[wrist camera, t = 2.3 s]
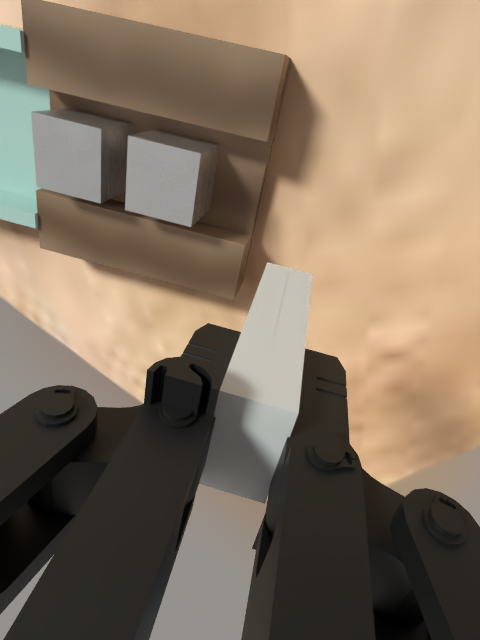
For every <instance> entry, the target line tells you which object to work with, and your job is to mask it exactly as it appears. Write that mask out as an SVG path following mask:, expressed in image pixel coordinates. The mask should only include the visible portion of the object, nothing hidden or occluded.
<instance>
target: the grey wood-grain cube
mask: <svg viewBox="0 0 480 640" xmlns="http://www.w3.org/2000/svg"><path fill="white" fill-rule="evenodd" d="M219 145H220V144H216V143H212V142H208V141H204V140H200V139H196V138H192V137H188V136H184V135H180V134H175V133H171V132H167V131H163V130H159V129H154V130H150V131H145V132H141V133H137V134H132V135H128V148H127V172H126V197H125V210H127V211H131V212H135V213H139V214H142V215H146V216H150V217H154V218H158V219H162V220H165V221H169V222H173V223H177V224H181V225H185V226H188V227H192V226H193V225H194V224H195V223H196V222H197V221H198V220H199V219H200V218H201V217H202V216H203V215H204V214H205V213H206V212H207V211H208V210H209V209H210V204H211V197H212V191H213V184H214V178H215V171H216V165H217V158H218V152H219Z"/></svg>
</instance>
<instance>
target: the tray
mask: <svg viewBox="0 0 480 640" xmlns="http://www.w3.org/2000/svg"><path fill="white" fill-rule="evenodd" d="M45 110H50V96H49V89H45V88H41V87H37V86H33V85H28V83H27V70H26V57H25V44H24V31H23V29H20V28H15V27H11V26H7V25H2V24H0V219H2V220H5V221H9V222H13V223H17V224H20V225H24V226H28V227H31V228H35V229H36V228H38V227H39V226H38V213H37V200H36V190H38V189H41V188H39V187H37V185H36V172H35V159H34V146H33V132H32V119H31V112H32V111H45Z"/></svg>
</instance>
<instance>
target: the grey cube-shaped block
mask: <svg viewBox="0 0 480 640" xmlns="http://www.w3.org/2000/svg"><path fill="white" fill-rule="evenodd" d="M31 119H32V132H33V146H34V159H35V172H36V185H37V187H39V188H43V189H47V190H50V191H54V192H58V193H62V194H66V195H70V196H73V197H77V198H81V199H85V200H89V201H93V202H96V203H100V204H101V203H103V202H105V201H107V200H109V199H111V198H113V197H115V196H117V195H119V194H121V193H123V192H125V191H126V172H127V148H128V135H132V134H133V123H130V122H126V121H122V120H118V119H114V118H110V117H106V116H102V115H97V114H93V113H89V112H85V111H81V110H77V109H73V108H71V109H58V110H45V111H32V112H31Z"/></svg>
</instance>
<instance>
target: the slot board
mask: <svg viewBox="0 0 480 640" xmlns="http://www.w3.org/2000/svg"><path fill="white" fill-rule="evenodd" d="M21 5H22V18H23V31H24V44H25V57H26V70H27V83H28V85H33V86H37V87H41V88H45V89H49V96H50V110H58V109H71V108H73V109H77V110H81V111H85V112H89V113H93V114H97V115H102V116H106V117H110V118H114V119H118V120H122V121H126V122H130V123H133V134H137V133H141V132H145V131H150V130H154V129H159V130H163V131H167V132H171V133H175V134H180V135H184V136H188V137H192V138H196V139H200V140H204V141H208V142H212V143H216V144H220V145H219V152H218V158H217V165H216V171H215V178H214V184H213V191H212V197H211V204H210V209H209V210H208V211H207V212H206V213H205V214H204V215H203V216H202V217H201V218H200V219H199V220H198V221H197V222H196V223H195V224H194V225H193V226H192V227H188V226H185V225H181V224H177V223H173V222H169V221H165V220H162V219H158V218H154V217H150V216H146V215H142V214H139V213H135V212H131V211H127V210H125V197H126V191H125V192H123V193H121V194H119V195H117V196H115V197H113V198H111V199H109V200H107V201H105V202H103V203H101V204H100V203H96V202H93V201H89V200H85V199H81V198H77V197H73V196H70V195H66V194H62V193H58V192H54V191H50V190H47V189H43V188H41V189H38V190H36V200H37V213H38V226H39V239H40V248H43V249H46V250H50V251H54V252H57V253H61V254H65V255H68V256H72V257H76V258H79V259H83V260H87V261H90V262H94V263H98V264H101V265H105V266H109V267H112V268H116V269H120V270H123V271H127V272H131V273H134V274H138V275H142V276H145V277H149V278H153V279H156V280H160V281H164V282H167V283H171V284H175V285H178V286H182V287H186V288H189V289H193V290H197V291H200V292H204V293H208V294H211V295H215V296H219V297H222V298H226V299H230V300H234V298H235V296H236V294H237V292H238V290H239V288H240V286H241V283H242V280H243V276H244V271H245V267H246V262H247V258H248V253H249V248H250V244H251V239H252V235H253V230H254V226H255V221H256V216H257V212H258V207H259V203H260V198H261V194H262V189H263V184H264V180H265V175H266V171H267V166H268V162H269V157H270V152H271V148H272V143H273V139H274V134H275V129H276V125H277V120H278V116H279V111H280V107H281V102H282V97H283V93H284V88H285V84H286V79H287V75H288V70H289V65H290V61H291V58H289V57H288V56H286V55H283V54H279V53H275V52H270V51H266V50H261V49H257V48H252V47H248V46H243V45H239V44H234V43H230V42H226V41H221V40H217V39H212V38H208V37H203V36H199V35H194V34H190V33H185V32H181V31H176V30H172V29H168V28H163V27H159V26H154V25H150V24H145V23H141V22H136V21H132V20H127V19H123V18H118V17H114V16H110V15H105V14H101V13H96V12H92V11H87V10H83V9H78V8H74V7H69V6H65V5H61V4H56V3H52V2H47V1H43V0H21Z"/></svg>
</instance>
